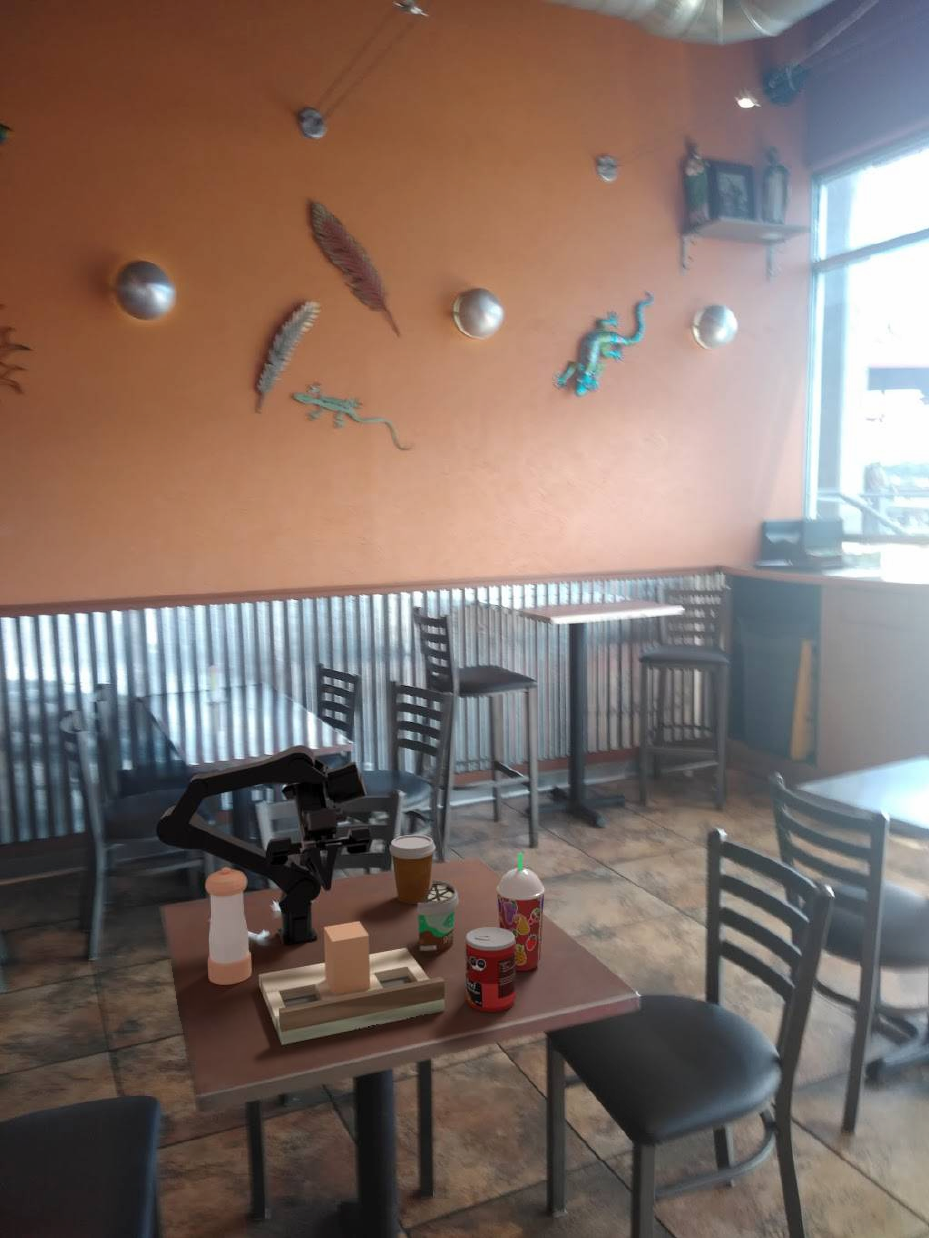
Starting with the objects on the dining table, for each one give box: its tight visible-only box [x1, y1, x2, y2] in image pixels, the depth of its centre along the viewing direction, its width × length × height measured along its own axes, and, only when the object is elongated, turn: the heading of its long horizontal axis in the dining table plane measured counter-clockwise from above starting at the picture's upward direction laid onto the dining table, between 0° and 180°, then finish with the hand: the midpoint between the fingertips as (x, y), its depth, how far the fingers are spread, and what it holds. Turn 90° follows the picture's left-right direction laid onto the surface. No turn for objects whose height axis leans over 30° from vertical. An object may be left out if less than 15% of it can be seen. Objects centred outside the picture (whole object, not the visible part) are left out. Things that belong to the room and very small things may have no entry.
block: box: [323, 920, 370, 995], centre depth 160 cm, size 6×6×9 cm
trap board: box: [258, 947, 446, 1046], centre depth 159 cm, size 20×26×5 cm
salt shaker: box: [204, 866, 252, 986], centre depth 167 cm, size 7×7×19 cm
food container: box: [416, 879, 460, 956], centre depth 179 cm, size 12×6×10 cm, turn 168°
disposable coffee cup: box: [388, 834, 436, 905], centre depth 201 cm, size 10×10×12 cm
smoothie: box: [496, 852, 546, 972], centre depth 170 cm, size 8×8×20 cm
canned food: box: [465, 926, 516, 1013], centre depth 157 cm, size 8×8×11 cm
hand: (328, 890), depth 170 cm, fingers closed
